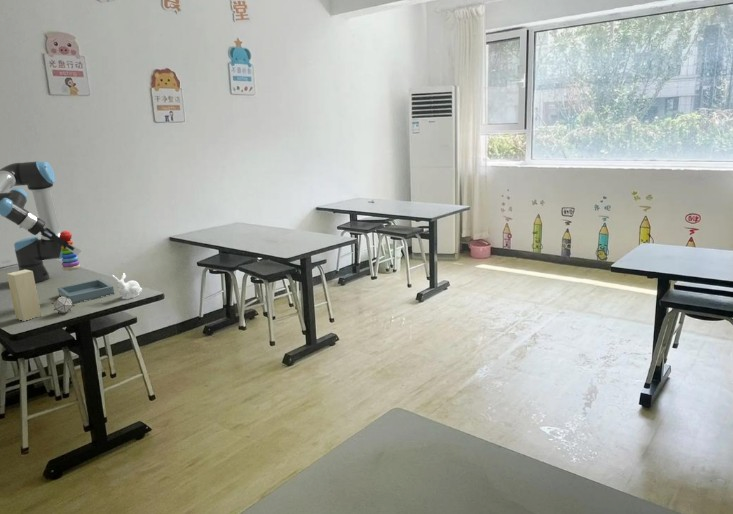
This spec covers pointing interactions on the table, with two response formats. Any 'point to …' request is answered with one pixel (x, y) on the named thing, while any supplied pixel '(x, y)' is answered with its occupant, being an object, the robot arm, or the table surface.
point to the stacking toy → (68, 254)
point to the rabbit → (127, 287)
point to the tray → (86, 290)
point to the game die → (63, 304)
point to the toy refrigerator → (24, 294)
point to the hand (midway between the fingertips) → (77, 251)
